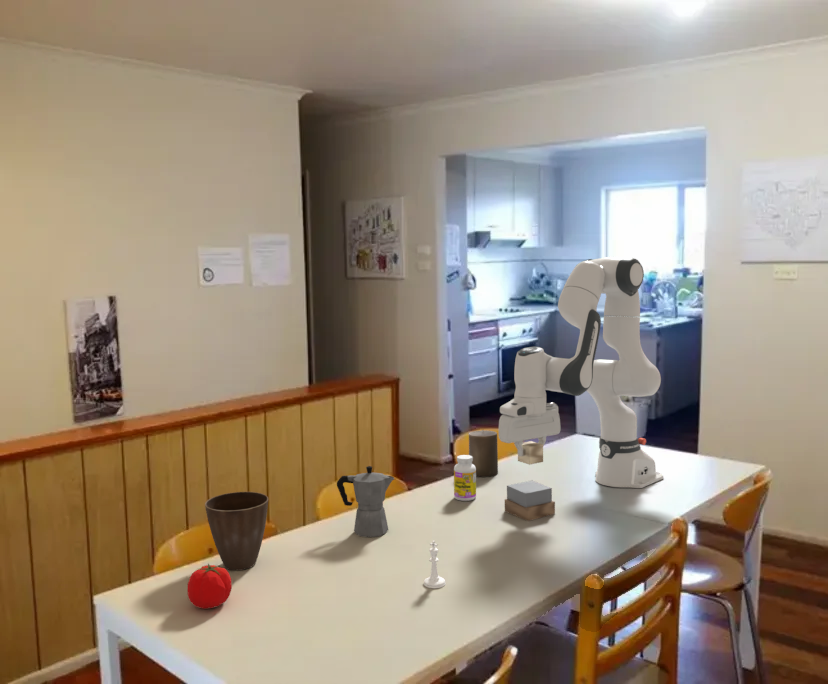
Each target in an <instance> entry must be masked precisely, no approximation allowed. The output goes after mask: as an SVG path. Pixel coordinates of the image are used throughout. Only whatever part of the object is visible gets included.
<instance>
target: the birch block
mask: <svg viewBox="0 0 828 684" xmlns="http://www.w3.org/2000/svg"><path fill="white" fill-rule="evenodd" d="M522 448H523V449H525V450H526V455H525V456H518V455H517V462H520V463H523V464H527V465H529V466H530V465H535V464H541V463H543V462H544V446H543V444H540V443H538V442H535V441H532V440H528V441H523V444H522Z"/></svg>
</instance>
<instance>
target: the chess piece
mask: <svg viewBox="0 0 828 684" xmlns="http://www.w3.org/2000/svg"><path fill="white" fill-rule="evenodd" d="M429 546H432V547H430V548H429V553H430V556H431V557H430V558H429V560H428V561H429V562H431V570H430V575H429V577H426V578H424V580H423V586H424V587H426V588H428V589H440V588H443V587H445V586H446V584H447V583H446V580H445V578H443V577H442V576H440V575H439V572H438V566H437V563H438V562H439V560H440V559H439V558H438V553H439V549H438V543H436V540H432V542H430V543H429Z"/></svg>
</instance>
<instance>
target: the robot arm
mask: <svg viewBox="0 0 828 684" xmlns="http://www.w3.org/2000/svg"><path fill="white" fill-rule="evenodd" d="M644 276H645V273H644V268H643V265H642V264H641V262H640V261H639V260H638V259H637V258H635V257H628V256H623V257H619V256H606V257H602V258H601V257H600V258H594V259H592V258H590V259H589V258H588V259H586V260H583V261H581V262H579V263H578V264H576V266H575V267H574V268H573V269H572V271H571V272H570V274H569V276H568V278H567V279H566V281H565V284H564V286H563V289H562V290H561V293H560V295H559V298H558V303H557V309H558V311H559V314H560V316H561V317H562V318H563V319H564V320H565V321H566V322H567V323H568V324H570V325H571V326H573V327H576V328H577V329H579V336H578V340H577V346H576V350H575V355H574V356H572V357H570V358H563V357H556V356H555V357H554V356H552V355H550V354H547V353H546V352H545V351H544V348H542V347H540V346H529V347H524V348H521V349H520V350H518V351H517V352H516V356H515V360H514V361H515V362H514V371H513V372H514V374H513V375H514V384H515V389H514V390H515V391H514V393H513V394H514V397H513V398H512V399H510V401H508V402H506V403H504V404H502V405H501V406H500V407H499V413H500V414H501V415H500V417H499V420H498V439H499V440H500V441H501V442H502V443H506V444H511V443H513V445H514V446H515V448H516V449H517V457H518V456H525V455H526V450H525V449H523V448H522V444H523V443H524V442H525V441H530V440H534V439H537V440H538V441H537V443H540V444H543V447H544V446H545V444H546V441H547V437H550V436H555V435H559V434H560V432H561V419H560V418H561V417H560V413H559V406H558V404H557V403H555V402H553V401H552V402H547V392H546V391H550V392H557V393H563V394H566V395H571V396H575V397H579V396H581V395H583V394H584V393H585V392H587V393H588V394H589V396H591V398H592V400H593V401H594V403H595V405H596V407H597V409H598V413H599V419H600V420H599V422H600V437H599V441H598V447H599V453H598V458H597V469H596V472H595V482H596V483H598V484H600V485H603V486H606V487H607V486H608V487H611V488H632V489H643V488H646V487H647V486H650V485H651V484H655V483H657V482H658V481H661V480H663V479H664V475H663V474H662V473H660V472H658V471H657V470H656V462H655V459H654V458H653V457H651V456H650V455H649V454H647V452H645V451H644V450H643V449H642V447H641V445H643V446H644V445H646V443H647V439H646V438H643V437H639V438H638V437H637V433H638V432H637V431H638V429H637V428H638V424H637V422H638V420H637V419H638V417H637V414H636V412H635V411H634V410H633V409H632V408H630V406H627V405H626V404H625V403H624V402H623V401H622V398H621V396H625V397H636V398H641V397H650V396H653V395H655V394H656V393H657V392H658V390H659V388H660V386H661V383H662V382H661V381H662V378H661V373H660V371H659V369H658V367H657V366H656V365H655V364H653V362H651V361H650V360H649V359H648V357H647V356H646V354H645V353H644V350H643V348H642V344H641V337H640V336H641V333H640V331H641V330H640V329H641V327H640V325H641V324H640V323H641V322H640V321H641V302H640V294H639V293H640V291H639V290H640V288H641V286H642V284H643V281H644ZM602 294H605V301H604V309H603V321H601V320H602V319H601V315H600V314H599V312H598V311H597V308H598V304H599V301H600V300H601V299H600V298H601V296H602ZM602 322H603V324H602ZM601 324H602V325H603V326H602V328H603V329H602V339H603V341H604V343H605V344H606V346H608V347H610V348H611V349H613V350H615V351H616V353H617V354H618V358H619V360H616V359H601V358H600V359H599V358H598V359H595V358H596V353H597V349H598V342H599V339H600V332H601Z"/></svg>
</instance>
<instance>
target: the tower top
mask: <svg viewBox="0 0 828 684" xmlns="http://www.w3.org/2000/svg"><path fill="white" fill-rule="evenodd" d="M552 489H553V488H552V487H550V486H548V485H544V484H542V483H541V482H537V481H536V480H533V479H531V480H527V481H526V480H525V481H522V482H517V483H513V484H511V483H510V484H508V485H506V499H508V500H510V501H513V502H515V503H517V504H519V505H521V506H523V507H526V508H527V507H531V506H536V505H540V504H544V503H549V502H552V501H553V500H552V499H553V496H552V495H553V494H552V493H553V492H552V491H553V490H552Z"/></svg>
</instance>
